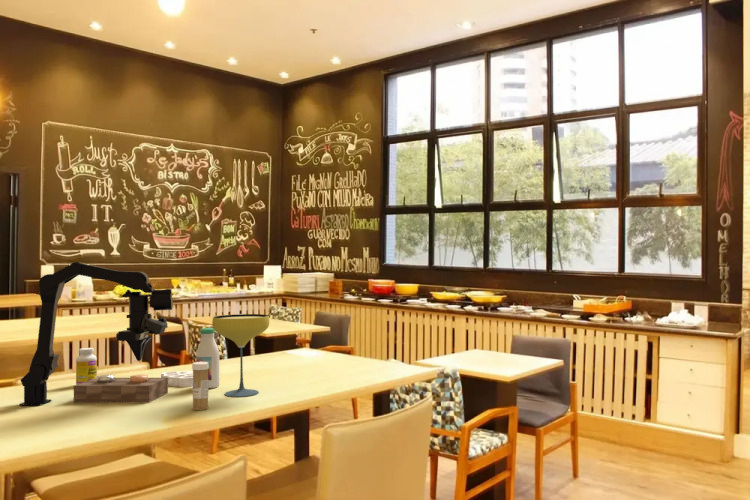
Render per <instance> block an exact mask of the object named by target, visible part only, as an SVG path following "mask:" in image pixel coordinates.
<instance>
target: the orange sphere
mask: <svg viewBox="0 0 750 500" xmlns="http://www.w3.org/2000/svg"><path fill="white" fill-rule="evenodd" d="M129 378H130V383H144V382H147V381H148V378H149V376H148V374H135V375H131V376H130V377H129Z"/></svg>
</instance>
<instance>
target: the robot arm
mask: <svg viewBox="0 0 750 500" xmlns="http://www.w3.org/2000/svg"><path fill="white" fill-rule="evenodd" d="M79 276H83V277H88V278H92V279H93V278H94V279H98V280H104V281H108V282H113V283H116V284H118V285H122V286H124V287H126V288H129V289H127V290H126V292H125V293H123V294H122V295H121V297H122V298H128V314H126V319H128V327H127V328H126V330H125V329H124V330H119V331H118V332H117V333H116V334H115V341H116V342H124V341H125V342H126V343H127V345H128V346H129V348H130V350H131V351H132V353H133V356H134V357H135V359H136V360H137V361H142V358H143V355H144V351H145V348H146V345H147V343H148V342H149V341H150V340H151V339H153V336H149V335H155V336H157V335H161V334H165V331H166V329H167V328H168V326H169V325H168V323H167V318H166V317H160V318H159V319H154V318H152V316H153V315H152V314H151V313H149V308H152V309H153V311H172V310H173V305H174V298H173V292H172V289H171V288H166V289H155V288H154V287H153V285H152V284H151V283H150V280H149V279H150V278H149V275H148V274H147V273H146V272H144V271H130V270H128V271H127V270H125V271H124V270H116V269H112V268H106V267H102V266H101V267H100V266H97V265H91V264H88V263H87V264H86V263H83V262H82V261H81V262H80V261H73V262H71V264H69V265H67V266H66V267H63V268H61V269H59V270H58V271H55V272H54V273H48V274H44V275H42V277H41V278H40V279H39V281H38V290H39V291H38V292H39V296H40V297H39V298H40V301H41V308H40V309H41V310H40V319H39V326H38V327H39V328H38V335H37V337H38V338H37V344H36V350H35V352H34V355H33V356H32V360H31V362H30V366H29V368H28V369H29V370H28V372H27V373H26V374H25V375H24V376H23V377H22V378H21V379H20V383H21V385H22V387H23V402H21V403H19V404H18V405H19V406H29V407H31V406H32V407H33V406H42V405H44V404H47V403H49V402H52V399H51V398H50V399H48V384H47V381H48V380H49V377H50V376H51V375H52V374H54V372H55V370H56V369H57V368H58V367H59V364H58V360H59V356H60V354H59V353H55V352H54V349H53V348H54V338H55V329H56V320H57V311H58V304H59V301H60V299H61V297H62V294H63V291H64V287H65V284H67V283H69V282H71V281H72V280H73V279H75V278H77V277H79ZM130 289H132V290H133V291H131V290H130ZM142 292H143V293H145V294H142Z"/></svg>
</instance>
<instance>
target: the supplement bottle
mask: <svg viewBox="0 0 750 500" xmlns="http://www.w3.org/2000/svg"><path fill="white" fill-rule="evenodd" d="M94 351H95V348H93V347H83V348H79V351H78V352H79V356H77V357H76V359H75V364H76V365H75V384H76V385H78V384H81V383H84V382H86V381H89V380H92V379H95V378H97V376H98V374H97V373H98V371H97V370H98V369H97V367H98V366H97V365H98V363H97V361H98V357H97V356H96V355H95V354H94Z"/></svg>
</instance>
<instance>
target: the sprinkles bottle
mask: <svg viewBox="0 0 750 500" xmlns="http://www.w3.org/2000/svg"><path fill="white" fill-rule="evenodd" d="M191 367H192V369H191V370H192V372H193V386H192V410H193V411H203V410H208V409H209V388H208V368H209V364H208V362H196V361H194V362H192V366H191Z"/></svg>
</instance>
